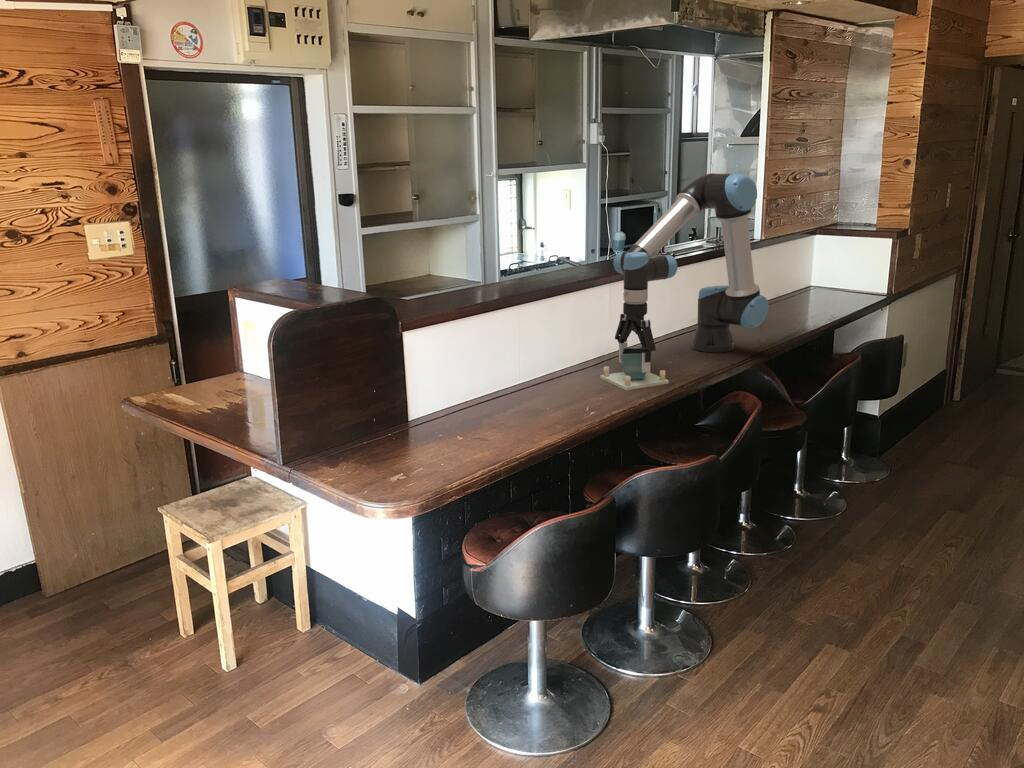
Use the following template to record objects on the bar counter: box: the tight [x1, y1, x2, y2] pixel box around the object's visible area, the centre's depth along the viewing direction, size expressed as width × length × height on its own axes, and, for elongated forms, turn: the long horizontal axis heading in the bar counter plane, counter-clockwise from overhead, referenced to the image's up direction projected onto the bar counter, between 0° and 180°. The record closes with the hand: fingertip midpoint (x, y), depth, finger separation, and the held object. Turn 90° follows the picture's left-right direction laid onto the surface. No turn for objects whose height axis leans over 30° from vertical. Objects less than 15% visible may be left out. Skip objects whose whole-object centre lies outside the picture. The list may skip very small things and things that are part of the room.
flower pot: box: [621, 347, 647, 379], centre depth 269 cm, size 9×9×9 cm
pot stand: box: [599, 365, 670, 391], centre depth 271 cm, size 16×16×4 cm
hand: (634, 366), depth 270 cm, fingers open, 13 cm apart
